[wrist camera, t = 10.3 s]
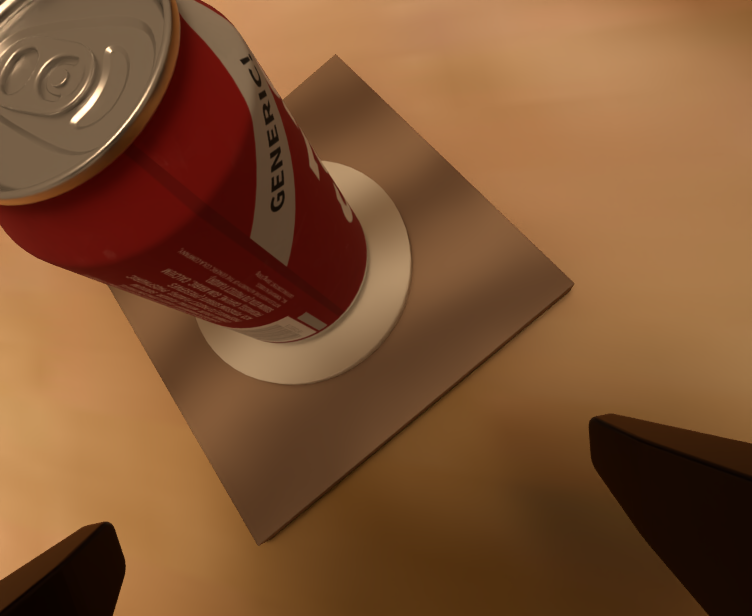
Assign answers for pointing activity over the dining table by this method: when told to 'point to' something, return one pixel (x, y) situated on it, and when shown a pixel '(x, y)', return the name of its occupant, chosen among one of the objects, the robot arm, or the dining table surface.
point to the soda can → (169, 166)
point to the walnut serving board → (354, 316)
